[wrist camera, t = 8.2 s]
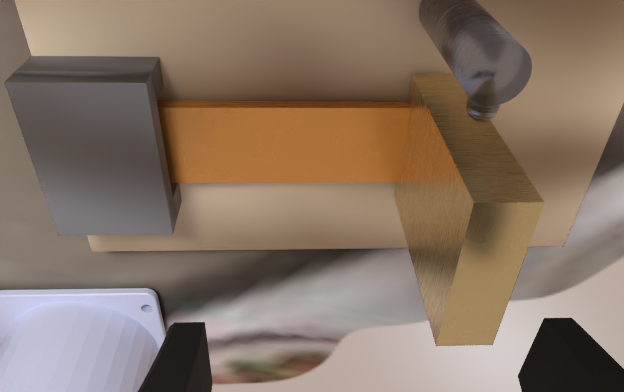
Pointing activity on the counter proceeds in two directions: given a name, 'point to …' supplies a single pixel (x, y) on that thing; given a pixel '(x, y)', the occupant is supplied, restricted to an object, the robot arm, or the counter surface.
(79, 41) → the strap board
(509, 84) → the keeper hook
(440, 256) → the tan wooden block
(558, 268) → the counter surface
